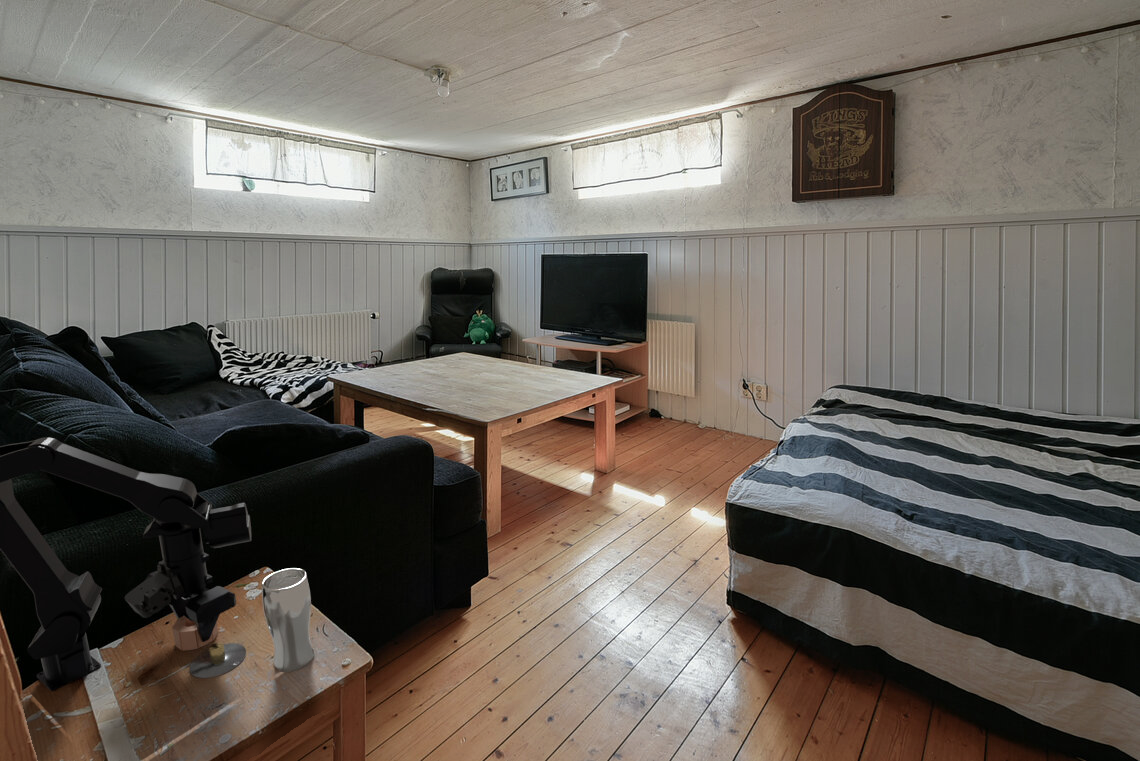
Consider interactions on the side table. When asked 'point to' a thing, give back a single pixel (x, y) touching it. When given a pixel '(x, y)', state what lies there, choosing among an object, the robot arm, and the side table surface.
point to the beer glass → (288, 617)
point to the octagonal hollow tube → (189, 634)
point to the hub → (217, 660)
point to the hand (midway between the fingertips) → (196, 634)
